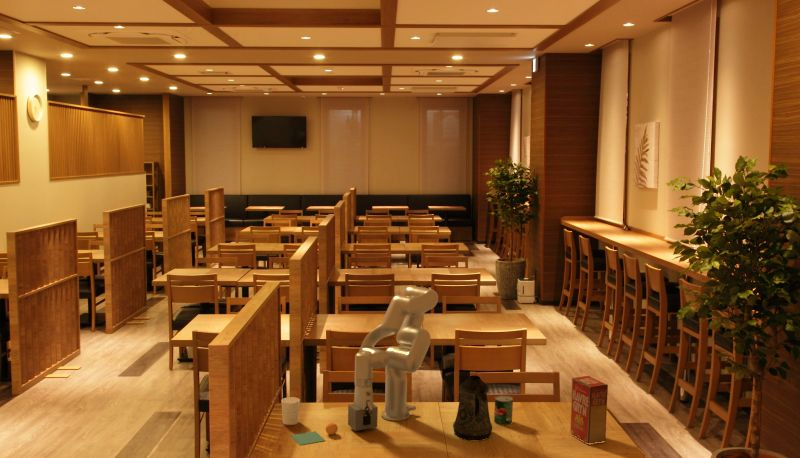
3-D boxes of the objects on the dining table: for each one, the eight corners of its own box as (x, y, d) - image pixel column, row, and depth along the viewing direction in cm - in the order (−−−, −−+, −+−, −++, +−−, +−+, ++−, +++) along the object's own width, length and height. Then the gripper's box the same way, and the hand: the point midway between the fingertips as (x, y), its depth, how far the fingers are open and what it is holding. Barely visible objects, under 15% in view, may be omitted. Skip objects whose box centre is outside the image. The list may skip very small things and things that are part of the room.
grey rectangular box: (369, 421, 341) (369, 401, 340) (377, 427, 334) (377, 407, 333) (347, 424, 336) (348, 404, 335) (355, 430, 330) (355, 410, 328)
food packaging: (568, 434, 334) (571, 377, 331) (586, 431, 338) (589, 374, 335) (587, 445, 322) (590, 386, 319) (606, 442, 326) (609, 384, 323)
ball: (334, 431, 332) (334, 420, 332) (339, 435, 328) (339, 423, 327) (323, 433, 330) (323, 421, 329) (328, 437, 326) (328, 425, 325)
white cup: (296, 426, 337) (296, 403, 336) (278, 424, 339) (278, 402, 337) (302, 420, 345) (302, 397, 344) (285, 418, 346) (285, 396, 345)
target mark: (315, 431, 332) (315, 431, 332) (325, 440, 322) (325, 440, 322) (290, 435, 327) (290, 435, 327) (299, 445, 317) (299, 444, 317)
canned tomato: (491, 423, 345) (492, 399, 343) (496, 418, 352) (497, 394, 350) (509, 426, 342) (510, 402, 340) (514, 420, 349) (514, 396, 348)
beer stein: (470, 423, 345) (472, 368, 342) (505, 436, 331) (507, 378, 328) (444, 433, 333) (446, 375, 330) (480, 446, 319) (482, 387, 316)
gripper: (380, 386, 327) (379, 427, 329) (363, 374, 342) (362, 413, 344) (363, 388, 324) (363, 429, 326) (347, 376, 339) (346, 416, 341)
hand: (362, 421), depth 335 cm, fingers closed on grey rectangular box, 7 cm apart
